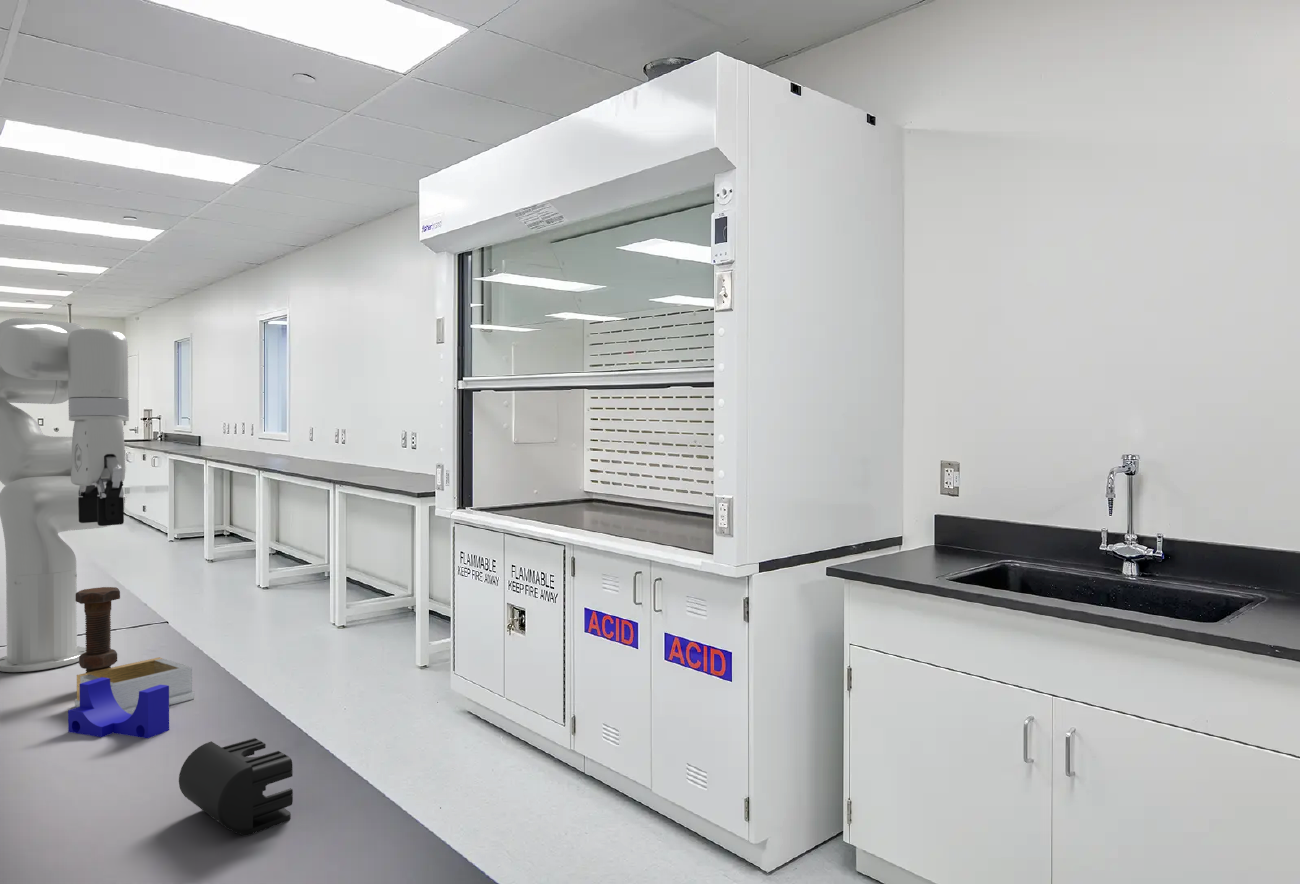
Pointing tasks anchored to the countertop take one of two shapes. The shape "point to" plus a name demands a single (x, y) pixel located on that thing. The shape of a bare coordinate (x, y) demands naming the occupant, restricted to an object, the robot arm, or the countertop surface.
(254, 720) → the countertop surface
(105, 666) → the bolt
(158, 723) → the cable clip
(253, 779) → the end cap
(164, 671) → the shallow open tray
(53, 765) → the countertop surface
